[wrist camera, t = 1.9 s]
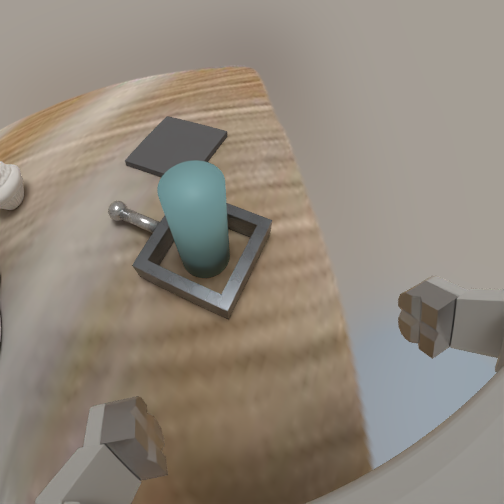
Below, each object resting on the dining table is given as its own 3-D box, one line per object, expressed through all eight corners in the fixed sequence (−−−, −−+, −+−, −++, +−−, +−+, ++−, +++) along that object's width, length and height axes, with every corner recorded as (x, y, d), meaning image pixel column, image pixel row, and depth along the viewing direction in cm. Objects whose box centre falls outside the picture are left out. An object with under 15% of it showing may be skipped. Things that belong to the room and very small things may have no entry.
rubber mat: (126, 165, 33) (124, 160, 32) (167, 120, 37) (166, 116, 36) (189, 186, 31) (188, 181, 31) (227, 136, 35) (227, 131, 35)
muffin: (19, 178, 32) (-3, 145, 26) (39, 188, 31) (15, 152, 25) (-7, 211, 30) (-33, 181, 23) (11, 226, 29) (-18, 193, 22)
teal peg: (173, 266, 27) (144, 199, 18) (196, 228, 29) (180, 153, 20) (216, 285, 26) (204, 222, 18) (237, 245, 28) (236, 171, 19)
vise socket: (91, 250, 27) (81, 238, 25) (138, 185, 31) (133, 170, 29) (228, 319, 25) (227, 310, 23) (269, 234, 29) (272, 220, 27)
